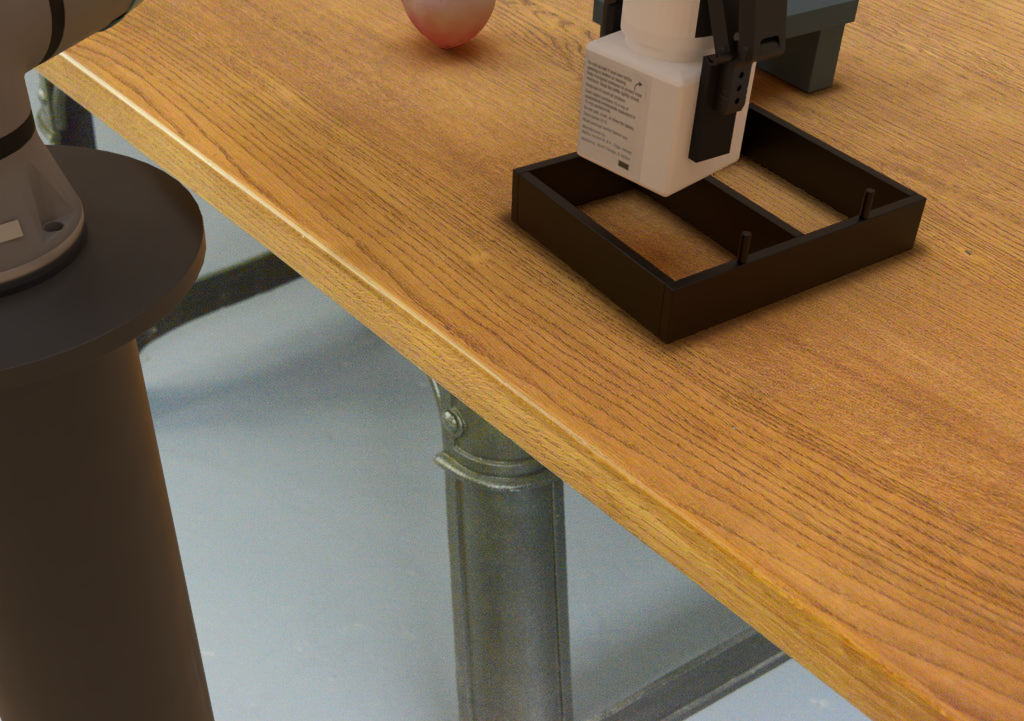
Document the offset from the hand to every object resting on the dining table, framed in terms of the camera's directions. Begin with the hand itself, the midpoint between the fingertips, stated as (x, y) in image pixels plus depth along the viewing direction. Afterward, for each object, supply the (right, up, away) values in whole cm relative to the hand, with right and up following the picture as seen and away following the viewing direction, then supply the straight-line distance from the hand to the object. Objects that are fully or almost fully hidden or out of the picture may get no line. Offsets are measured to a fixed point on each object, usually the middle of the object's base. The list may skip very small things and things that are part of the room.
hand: (661, 125), depth 74 cm
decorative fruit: (-15, +14, +34) cm, 40 cm away
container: (0, -2, +2) cm, 3 cm away
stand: (+8, +9, +28) cm, 31 cm away
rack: (+4, -6, +8) cm, 11 cm away
